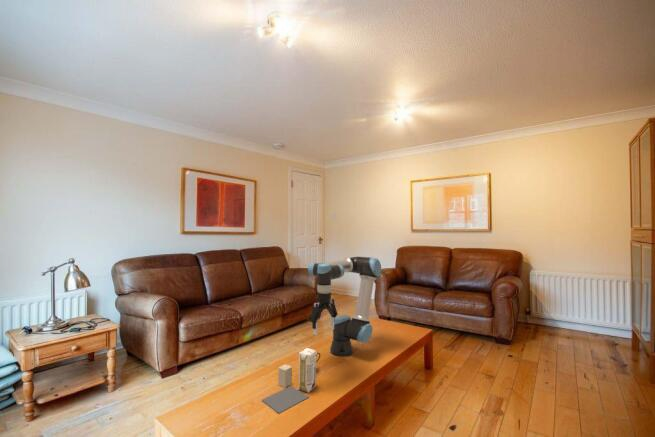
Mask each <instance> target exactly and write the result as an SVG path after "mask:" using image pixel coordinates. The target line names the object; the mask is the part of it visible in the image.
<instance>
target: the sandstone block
mask: <svg viewBox="0 0 655 437" xmlns="http://www.w3.org/2000/svg"><path fill="white" fill-rule="evenodd" d="M292 373H293V366H292V365H289V364H285V363H284V364H283V365H281V366H279V367H278V377H277V378H278V379H277V380H278V383H277V384H278V386H280V387H283V389H285V388H288V387H290V386H292V384H293V377H292V376H293V374H292Z"/></svg>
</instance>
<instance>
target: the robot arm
mask: <svg viewBox="0 0 655 437" xmlns="http://www.w3.org/2000/svg"><path fill="white" fill-rule="evenodd" d="M307 272H308V274H309V275H310V276H313V277H316V279H317V286H316V288H317V294H316V295H317V296H316V298H317V302H313V303H312V304H313V307H312V310H311V314H310V317H309V319H308V320H309V322H311V324H312V325H311V328H312V334H313V335H315V336H318V335H319V334H318V327H319V326H318V325H319V324H318V320H319V318H320V316H321V314H322V312H323V311H324V310H327V311H328V313H329V315H330V316H329V329H330V330H332V341H331V345H330V347H329V350H330V353H331V354H332V355H333V356H338V357H347V356H350V355H351V356H352V355H353V352H354V347H353V345H352V341H351V340H353V341H356V342H359V343H367V342H368V341H369V340H370V339H371V337H372V334H373V326H372V324H371V320H370V319H369V315H370V309H371V308H370V307H371V301H372V294H373V290H374V282H375V281H376V280H377V277H379V276H380V275H381V274H382V265H381V262H380V260H379V259H378V258H376V257H373V256H372V257H369V256H368V257H367V256H353V257H351V256H350V257H346V258H344V259H343V260H334V261H327V262H321V263H319V262H318V263H315V262H314V263H313V262H312V263H309V265H308V267H307ZM345 273H355V274H359V275H358V276H359V278H360V284H359V290H358V295H357V303H356V308H355V315H354V316H350V315H339V313H338V310H337V307H336V304H335V299H333V298H332V293H331V292H332V280H337V279H341V278H342V277H344V275H345ZM338 315H339V316H338ZM351 317H352V318H351Z"/></svg>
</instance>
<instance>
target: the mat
mask: <svg viewBox="0 0 655 437" xmlns="http://www.w3.org/2000/svg"><path fill="white" fill-rule="evenodd" d="M309 398H310V396H309V395H307V394H305V393H303V391H302V390H299V389H298V388H296V387H294V386H293V385H289V386H288V387H286V388H283V389H281V390H279V391H277V392H275V393H273V394H271V395H269V396H266V397H264V398H262V399H261V401H262V402H263V403H264V404H265V405H267V406H268V407H269V408H271V409H272V410H273V411H275V413H277V414H278V415H279V414H281V413H283V412H285V411H287V410H289V409H291V408H292V407H294V406H296V405H298V404H300V403H302V402H304V401H306V400H307V399H309Z"/></svg>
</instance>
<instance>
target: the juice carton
mask: <svg viewBox="0 0 655 437" xmlns="http://www.w3.org/2000/svg"><path fill="white" fill-rule="evenodd" d="M316 353H317V350H316V349H313V348H308V347H306V348H304V349H303V350H301V351H299V352H298V390H299V391H301V392H305V393H310V392H311V391H313V390H314V388H316V386H317V362H316V361H317V358H316Z"/></svg>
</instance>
